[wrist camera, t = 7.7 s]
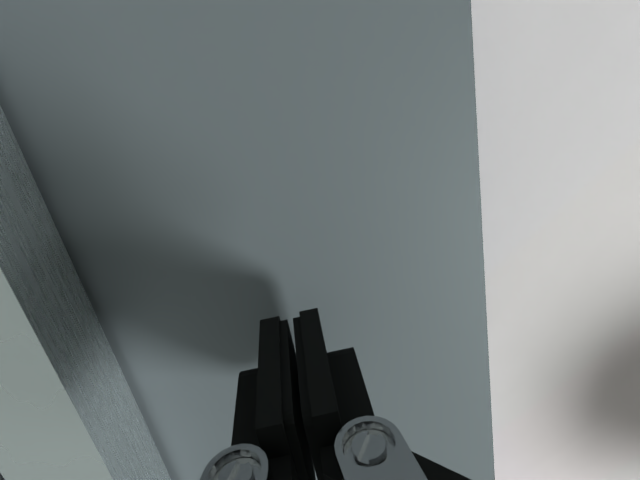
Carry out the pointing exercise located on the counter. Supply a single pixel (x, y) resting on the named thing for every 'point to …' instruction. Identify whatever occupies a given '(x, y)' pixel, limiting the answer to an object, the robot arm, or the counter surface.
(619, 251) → the counter surface
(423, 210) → the slate board
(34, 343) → the moving tong arm
